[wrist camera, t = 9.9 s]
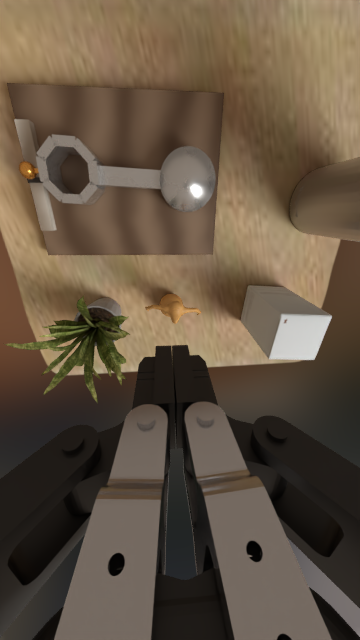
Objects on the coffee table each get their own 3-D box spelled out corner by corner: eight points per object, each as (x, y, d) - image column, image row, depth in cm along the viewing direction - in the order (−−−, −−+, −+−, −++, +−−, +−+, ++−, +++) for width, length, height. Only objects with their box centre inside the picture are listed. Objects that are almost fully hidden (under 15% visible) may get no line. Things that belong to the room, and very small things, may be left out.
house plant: (58, 340, 42) (3, 408, 28) (56, 267, 36) (-16, 305, 22) (134, 349, 44) (121, 418, 30) (144, 282, 39) (132, 326, 24)
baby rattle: (213, 154, 29) (220, 146, 26) (208, 213, 32) (213, 213, 29) (23, 138, 27) (2, 127, 24) (36, 203, 30) (19, 202, 27)
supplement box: (239, 321, 43) (266, 360, 32) (247, 284, 40) (281, 312, 29) (275, 323, 44) (315, 361, 33) (286, 286, 41) (334, 315, 29)
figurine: (147, 309, 41) (141, 344, 30) (148, 277, 38) (143, 302, 27) (192, 313, 42) (202, 348, 31) (196, 281, 39) (209, 308, 28)
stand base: (220, 100, 29) (226, 87, 26) (210, 252, 37) (214, 255, 34) (17, 91, 27) (-1, 76, 24) (54, 252, 35) (44, 256, 32)
